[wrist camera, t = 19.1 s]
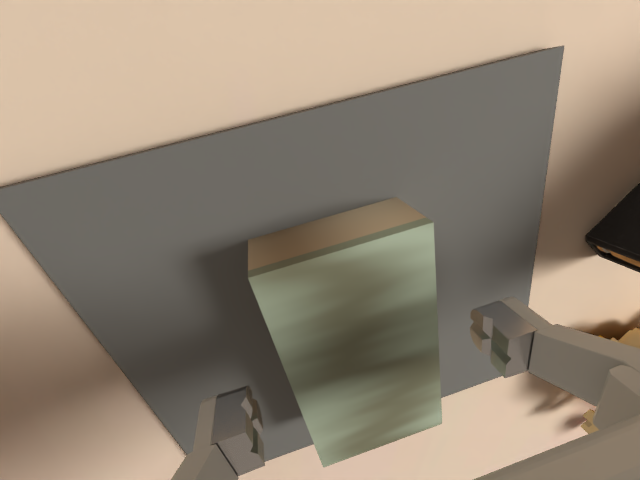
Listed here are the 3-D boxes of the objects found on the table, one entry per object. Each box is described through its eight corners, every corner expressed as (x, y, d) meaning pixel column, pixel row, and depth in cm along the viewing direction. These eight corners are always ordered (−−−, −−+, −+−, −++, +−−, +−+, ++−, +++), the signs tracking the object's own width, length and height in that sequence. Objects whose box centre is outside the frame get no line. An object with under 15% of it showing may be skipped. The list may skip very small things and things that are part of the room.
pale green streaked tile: (414, 377, 16) (396, 196, 11) (441, 423, 13) (433, 222, 9) (312, 413, 15) (247, 240, 10) (323, 467, 13) (248, 278, 8)
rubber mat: (209, 469, 16) (208, 482, 16) (0, 187, 9) (-16, 193, 8) (511, 361, 18) (519, 369, 17) (548, 48, 10) (564, 45, 10)
